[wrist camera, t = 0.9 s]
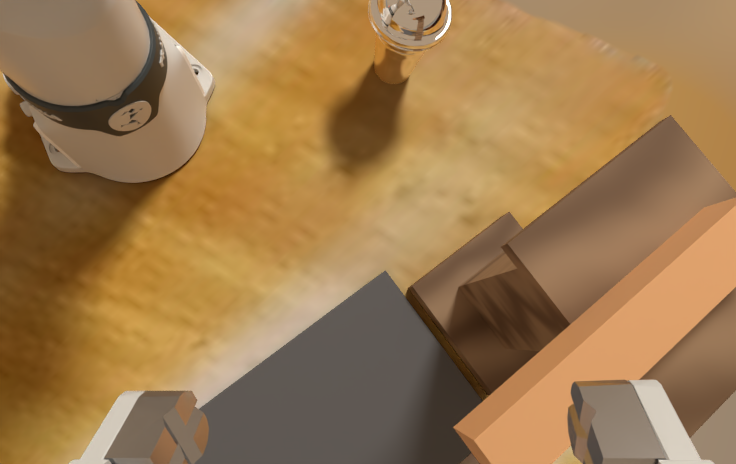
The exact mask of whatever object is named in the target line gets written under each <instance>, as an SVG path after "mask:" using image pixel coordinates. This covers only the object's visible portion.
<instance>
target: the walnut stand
mask: <svg viewBox="0 0 736 464" xmlns="http://www.w3.org/2000/svg"><path fill="white" fill-rule="evenodd" d="M732 198H736V192H735V191H734V190H733V188H732V187H731V186H730V185H729V184H728V183H727V181H726V180H725V179H724V178H723V177H722V176H721V174H720V173H719V172H718V171H717V169H716V168H715V167H714V166H713V165H712V164H711V162H710V161H709V160H708V159H707V158H706V156H705V155H704V154H703V153H702V152H701V150H700V149H699V148H698V147H697V146H696V145H695V143H694V142H693V141H692V140H691V139H690V138H689V136H688V135H687V134H686V133H685V132H684V130H683V129H682V128H681V127H680V126H679V124H678V123H677V122H676V121H675V120H674V118H673V117H672V116H671V115H670V116H669V117H667V118H665V119H664V120H662V121H660V122H659V123H658V124H656V125H655V126H654V127H652V128H651V129H650V130H649V131H647V132H646V133H645V134H644V135H642V136H641V137H640V138H638V139H637V140H636V141H635V142H633V143H632V144H631V145H630V146H628V147H627V148H626V149H624V150H623V151H622V152H621V153H619V154H618V155H617V156H615V157H614V158H613V159H612V160H610V161H609V162H608V163H607V164H605V165H604V166H603V167H601V168H600V169H599V170H598V171H596V172H595V173H594V174H593V175H591V176H590V177H589V178H587V179H586V180H585V181H584V182H582V183H581V184H580V185H579V186H577V187H576V188H575V189H573V190H572V191H571V192H570V193H568V194H567V195H566V196H565V197H563V198H562V199H561V200H559V201H558V202H557V203H556V204H554V205H553V206H552V207H551V208H549V209H548V210H547V211H545V212H544V213H543V214H542V215H540V216H539V217H538V218H537V219H535V220H534V221H533V222H531V223H530V224H529V225H528V226H526V227H525V228H524V229H522V227H521V226H520V225H519V224H518V222H517V221H516V220H515V218H514V217H513V216H512V215H511V213H510V212H508V213H506V214H505V215H503V216H502V217H500V218H499V219H498V220H496V221H495V222H494V223H492V224H491V225H490V226H489V227H487V228H486V229H485V230H483V231H482V232H481V233H479V234H478V235H477V236H475V237H474V238H473V239H472V240H470V241H469V242H468V243H466V244H465V245H464V246H462V247H461V248H460V249H458V250H457V251H456V252H455V253H453V254H452V255H451V256H449V257H448V258H447V259H445V260H444V261H443V262H441V263H440V264H439V265H438V266H436V267H435V268H434V269H432V270H431V271H430V272H428V273H427V274H426V275H425V276H423V277H422V278H421V279H419V280H418V281H417V282H415V283H414V284H413V285H411V286H410V287H409V290H410V291H411V292H412V294H413V295H414V296H415V298H416V299H417V300H418V302H419V303H420V305H421V306H422V307H423V309H424V310H425V311H426V313H427V314H428V315H429V317H430V318H431V319H432V321H433V322H434V323H435V325H436V326H437V327H438V329H439V330H440V331H441V333H442V334H443V335H444V337H445V338H446V339H447V341H448V342H449V343H450V345H451V346H452V347H453V349H454V350H455V351H456V353H457V354H458V355H459V357H460V358H461V359H462V361H463V362H464V364H465V365H466V366H467V368H468V369H469V370H470V372H471V373H472V374H473V376H474V377H475V378H476V380H477V381H478V382H479V384H480V385H481V386H482V388H483V389H484V390H485V392H486V393H487V394H488V395H491V394H492V393H493V392H494V391H495V390H496V389H497V388H499V387H500V386H501V385H502V384H503V383H504V382H505V381H507V380H508V379H509V378H510V377H511V376H512V375H513V374H515V373H516V372H517V371H518V370H519V369H520V368H521V367H523V366H524V365H525V364H526V363H527V362H528V361H529V360H531V359H532V358H533V357H534V356H535V355H536V354H537V353H539V352H540V351H541V350H542V349H543V348H544V347H545V346H547V345H548V344H549V343H550V342H551V341H552V340H553V339H555V338H556V337H557V336H558V335H559V334H560V333H561V332H562V331H564V330H565V329H566V328H567V327H568V326H569V325H570V324H572V323H573V322H574V321H575V320H576V319H577V318H578V317H580V316H581V315H582V314H583V313H584V312H585V311H586V310H588V309H589V308H590V307H591V306H592V305H593V304H594V303H596V302H597V301H598V300H599V299H600V298H601V297H602V296H604V295H605V294H606V293H607V292H608V291H609V290H610V289H612V288H613V287H614V286H615V285H616V284H617V283H618V282H620V281H621V280H622V279H623V278H624V277H625V276H626V275H627V274H629V273H630V272H631V271H632V270H633V269H634V268H635V267H637V266H638V265H639V264H640V263H641V262H642V261H643V260H645V259H646V258H647V257H648V256H649V255H650V254H651V253H653V252H654V251H655V250H656V249H657V248H658V247H659V246H661V245H662V244H663V243H664V242H665V241H666V240H667V239H669V238H670V237H671V236H672V235H673V234H674V233H675V232H677V231H678V230H679V229H680V228H681V227H682V226H683V225H685V224H686V223H687V222H688V221H689V220H690V219H691V218H693V217H694V216H695V215H696V214H697V213H698V212H699V211H700V210H702V209H703V208H704V207H707V206H710V205H713V204H717V203H720V202H723V201H726V200H729V199H732ZM652 379H653V380H657V381H658V382H659V383H660V384H661V385H662V387H663V389H664V390H665V392H666V394H667V396H668V398H669V400H670V402H671V404H672V406H673V407H674V409H675V411H676V413H677V415H678V417H679V419H680V421H681V423H682V425H683V426H684V428H685V430H686V432H687V434H688V436H689V438H690V437H691V436H692V435H693V434H694V433H695V432H696V431H697V430H698V429H699V428H700V427H701V426H702V425H703V424H704V423H705V422H706V421H707V420H708V419H709V417H711V415H712V414H713V413H714V412H715V411H716V410H717V409H718V408H719V407H720V406H721V405H722V404H723V403H724V402H725V401H726V400H727V399H728V398H729V397H730V396H731V394H733V392H735V390H736V287H735V288H734V289H733V290H732V291H731V292H730V293H729V294H728V295H727V296H726V297H725V298H724V299H723V300H722V301H721V302H720V303H718V304H717V305H716V306H715V307H714V308H713V309H712V310H711V311H710V312H709V313H708V314H707V315H706V316H705V317H704V318H703V319H702V320H701V321H700V322H699V323H698V324H697V325H696V326H695V327H693V328H692V329H691V330H690V331H689V332H688V333H687V334H686V335H685V336H684V337H683V338H682V339H681V340H680V341H679V342H678V343H677V344H676V345H675V346H674V347H673V348H672V349H671V350H670V351H669V352H667V353H666V354H665V355H664V356H663V357H662V358H661V359H660V360H659V361H658V362H657V363H656V364H655V365H654V366H653V367H652V368H651V369H650V370H649V371H648V372H647V373H646V374H645V375H644V376H642V377H641V378H640V379H639V380H652Z"/></svg>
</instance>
